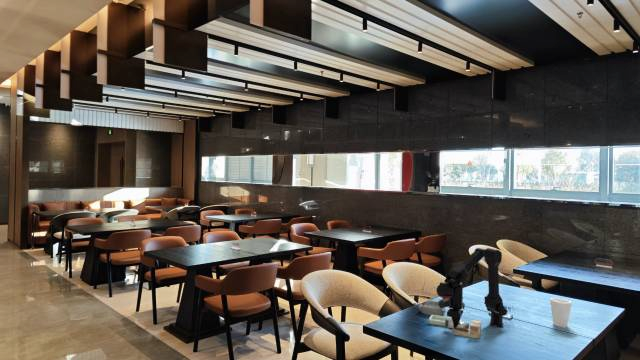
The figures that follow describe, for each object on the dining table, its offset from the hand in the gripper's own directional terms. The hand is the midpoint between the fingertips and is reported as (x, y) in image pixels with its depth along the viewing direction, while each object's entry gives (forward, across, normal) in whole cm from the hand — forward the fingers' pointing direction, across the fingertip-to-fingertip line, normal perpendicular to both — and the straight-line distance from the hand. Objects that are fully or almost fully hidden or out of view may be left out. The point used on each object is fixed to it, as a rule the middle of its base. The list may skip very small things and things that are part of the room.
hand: (455, 326), depth 203 cm
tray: (+3, -9, -6) cm, 11 cm away
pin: (-1, 0, +1) cm, 1 cm away
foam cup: (+3, -37, +48) cm, 61 cm away
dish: (+3, -24, -15) cm, 29 cm away
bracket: (+3, 0, +5) cm, 5 cm away
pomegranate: (+3, -52, -10) cm, 53 cm away
